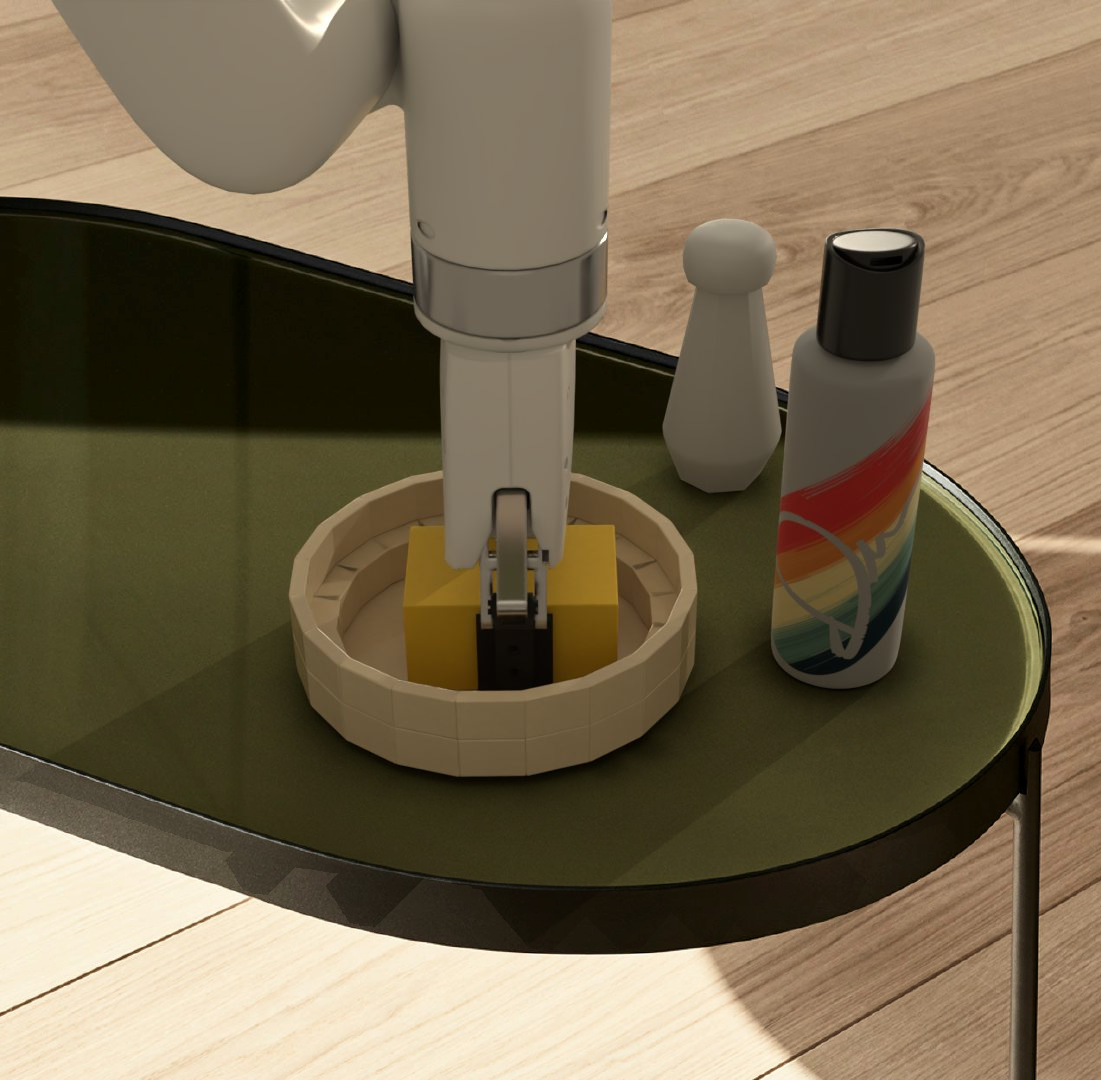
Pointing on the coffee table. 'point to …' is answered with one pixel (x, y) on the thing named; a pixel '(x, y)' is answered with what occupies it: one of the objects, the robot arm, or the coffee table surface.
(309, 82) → the robot arm
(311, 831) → the coffee table surface
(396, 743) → the bowl
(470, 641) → the sponge
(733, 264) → the salt shaker
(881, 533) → the striped bottle
